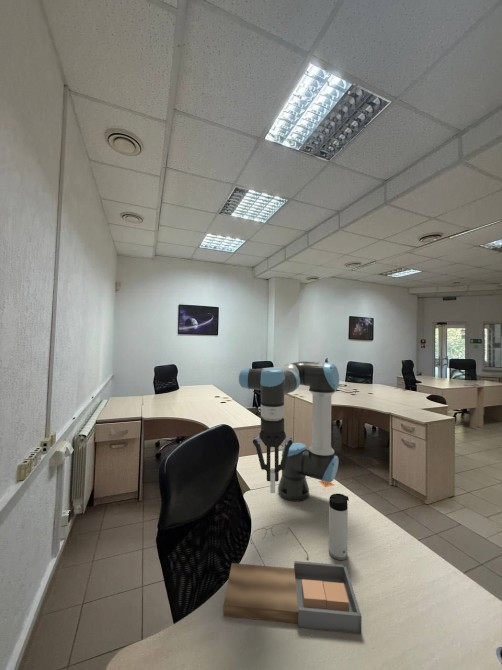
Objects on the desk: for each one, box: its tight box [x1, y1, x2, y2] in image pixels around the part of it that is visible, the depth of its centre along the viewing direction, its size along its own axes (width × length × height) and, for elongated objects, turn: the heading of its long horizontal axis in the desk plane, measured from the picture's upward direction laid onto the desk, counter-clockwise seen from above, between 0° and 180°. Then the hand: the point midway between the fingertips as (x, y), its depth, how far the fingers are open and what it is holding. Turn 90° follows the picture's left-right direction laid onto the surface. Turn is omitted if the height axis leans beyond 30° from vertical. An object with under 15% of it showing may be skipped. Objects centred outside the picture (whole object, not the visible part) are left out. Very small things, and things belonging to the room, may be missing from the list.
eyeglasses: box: [250, 522, 309, 566], centre depth 98 cm, size 16×15×5 cm
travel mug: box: [328, 493, 350, 561], centre depth 97 cm, size 6×7×20 cm
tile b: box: [323, 582, 349, 612], centre depth 79 cm, size 6×6×2 cm
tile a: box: [302, 580, 326, 609], centre depth 79 cm, size 6×6×2 cm
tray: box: [293, 560, 362, 635], centre depth 79 cm, size 16×16×4 cm
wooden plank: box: [223, 562, 298, 624], centre depth 81 cm, size 14×20×3 cm
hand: (272, 490), depth 88 cm, fingers closed
